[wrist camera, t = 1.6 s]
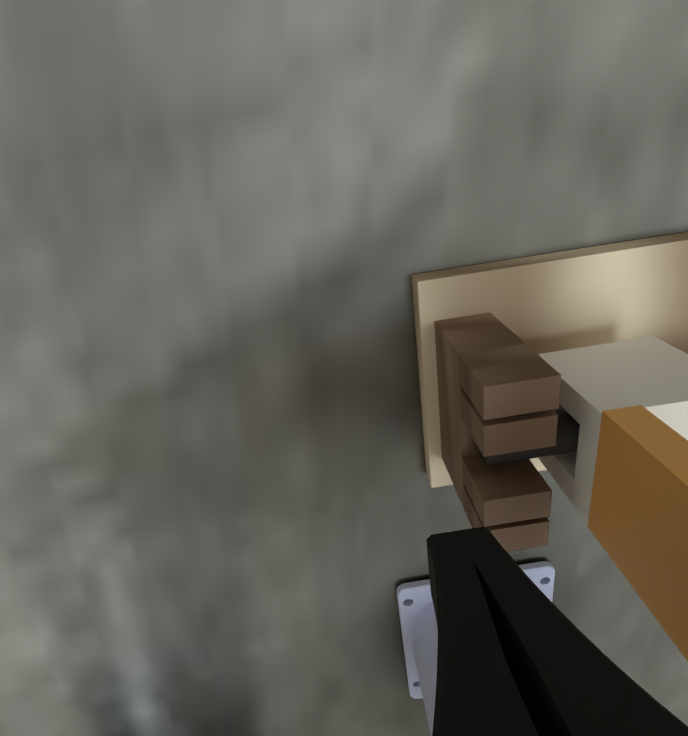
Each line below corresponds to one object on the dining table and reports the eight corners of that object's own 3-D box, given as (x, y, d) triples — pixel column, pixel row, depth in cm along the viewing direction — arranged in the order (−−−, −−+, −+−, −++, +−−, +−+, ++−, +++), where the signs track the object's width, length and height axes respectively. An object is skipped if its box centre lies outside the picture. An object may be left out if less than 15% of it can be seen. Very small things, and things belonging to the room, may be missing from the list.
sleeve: (530, 450, 17) (690, 665, 10) (535, 351, 15) (734, 527, 8) (637, 433, 17) (873, 635, 10) (654, 333, 15) (957, 492, 8)
